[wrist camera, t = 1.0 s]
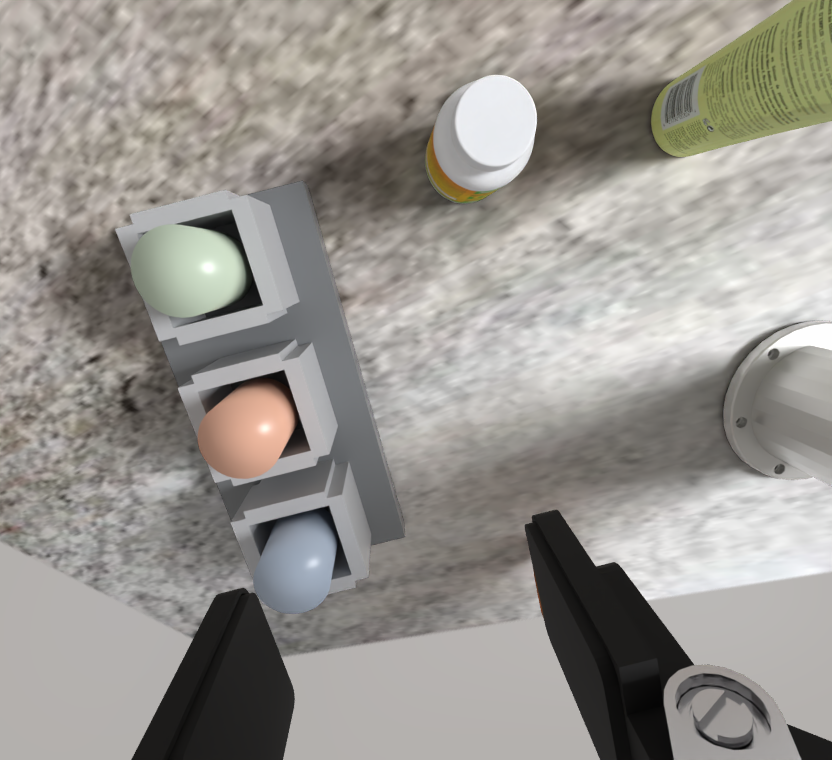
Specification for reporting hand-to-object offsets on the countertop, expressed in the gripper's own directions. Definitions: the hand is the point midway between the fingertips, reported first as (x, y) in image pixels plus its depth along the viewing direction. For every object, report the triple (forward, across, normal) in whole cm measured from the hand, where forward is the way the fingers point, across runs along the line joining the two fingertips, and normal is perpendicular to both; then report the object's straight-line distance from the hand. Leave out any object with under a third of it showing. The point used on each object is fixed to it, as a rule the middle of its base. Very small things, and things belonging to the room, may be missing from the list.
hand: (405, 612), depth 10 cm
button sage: (+21, +8, -9) cm, 24 cm away
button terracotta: (+21, +9, 0) cm, 22 cm away
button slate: (+21, +8, +9) cm, 24 cm away
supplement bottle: (+26, -8, -12) cm, 30 cm away
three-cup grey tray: (+26, +8, 0) cm, 27 cm away
